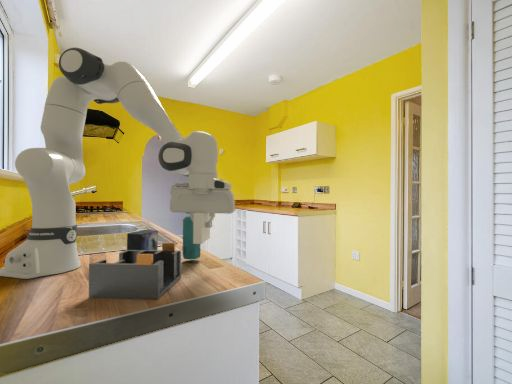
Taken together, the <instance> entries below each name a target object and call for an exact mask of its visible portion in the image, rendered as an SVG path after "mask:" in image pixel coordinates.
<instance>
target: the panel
mask: <svg viewBox="0 0 512 384" xmlns="http://www.w3.org/2000/svg"><path fill="white" fill-rule="evenodd" d="M210 218H211V217H209V213H201V212H197V213H194V226H193V244H201V245H203V244H204V243H206V241H208V240H210V239H211V228H206V222H208V221H209V220H210Z"/></svg>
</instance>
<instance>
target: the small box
mask: <svg viewBox="0 0 512 384" xmlns="http://www.w3.org/2000/svg"><path fill="white" fill-rule="evenodd" d="M158 231H159V230H156V229H154V230H153V229H142V230H136V231H132V232H128V233H126V237H127V238H126V250H158V237H159V235H158V234H159V232H158Z"/></svg>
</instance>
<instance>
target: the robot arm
mask: <svg viewBox="0 0 512 384" xmlns="http://www.w3.org/2000/svg"><path fill="white" fill-rule="evenodd" d="M58 68H59V70H60V73H62V75H63V76H58V77H56V78H55V79H54V80H53V81H52V84H51V85H50V87H49V90H48V93H47V95H46V99H45V103H44V106H43V107H44V108H43V113H42V118H41V122H40V132H41V134H42V135H43V139H44V144H45V147H31V148H30V147H29V148H26V149H23V150H22V151H21V152H19V154H17V156H16V157H15V160H14V161H15V162H14V167H15V170H16V172H17V173H18V174H19V175H20V176H21V177H22V179H23V180H24V183H25V184H26V187H27V190H28V193H29V197H30V200H31V208H32V209H31V214H32V215H31V216H32V219H31V220H32V221H31V222H32V224H31V225H32V226H31V228H30V229H26V230H24V233H23V235H27V236H26V238H25V239H26V240H24V241H23V242H22V243H20V244H18V246H16V247H15V248H14V249H12V250H10V251H9V252H8V253H7V254H6V256H5V260H4V267H1V268H0V277H6V278H15V279H24V280H28V279H29V280H30V279H34V278H38V277H44V276H50V275H58V274H62V273H66V272H70V271H73V270H76V269H79V268H80V267H82V263H81V260H80V256H79V252H78V246H77V236H78V225H77V224H76V223H77V222H76V221H77V219H76V215H77V214H76V213H77V211H76V207H77V205H76V200H75V199H74V197H73V195H72V193H71V189H70V186H71V185H73V184H76V183H78V182H80V181H81V180H83V179H84V177H85V175H86V167H85V164H84V156H83V155H84V153H83V136H84V130H85V124H86V119H87V113H88V107H89V105H90V103H91V102H94V103H95V104H98V105H102V104H117V103H120V105H121V106H122V107H123V108H124V110H125V111H126V112H127V113H128V114H129V115H130V116H131V117H132V118H133V119H134V120H135V121H138V122H139V123H141V124H142V125H144V126H146V127H147V128H149V129H151V130H152V131H153V132H155V133H156V134H157V135H158V136H159V137H160V138H161V139H162V141H163V142H164V144H163V145H162V146H161V148H160V149H159V151H158V162H159V164H160V166H161V168H163V169H164V170H165V171H167V172H171V173H174V174H178V175H182V176H184V177H187V178H188V183H186V182H184V183H180V182H179V183H178V182H177V183H175V184H173V185H171V188H170V195H171V196H170V201H169V210H170V212H171V213H182V214H183V213H185V214H189V216H190V218H191V220H192V221H193V226H194V213H197V212H201V213H209V217H210V220H209V221H208V222H206V228H210V229H211V228H212V222H213V221H214V220H215V217H216V214H228V215H229V214H233V213H234V212H235V211H236V201H235V195H234V192H232V183H230V182H228V181H225V180H223V179H219V178H218V169H217V164H218V161H219V159H218V158H219V157H218V156H219V153H218V143H217V139H216V137H215V136H213V135H212V134H210V133H208V132H205V131H200V130H194V131H192V132H190V134H188V135H187V136H185V137H183V136H182V134H181V133H180V131H179V130H178V129H177V127H176V125H175V124H173V122H172V121H171V119H170V117H169V115H168V114H167V112H166V110H165V109H164V107H163V106H162V103H161V101H160V100H159V98H158V96H157V95H156V94H155V93H156V92H154V90H153V88H152V87H151V85H150V83H149V82H148V81H147V80H146V79H145V76H143V75H142V73H141V72H140V71H139V70H138V69H137V68H136V67H135V66H134V65H132V64H131V63H130V62H126V61H117V62H114V63H113V64H106V63H105V62H104V61H103V59H102V58H101V57H99V56H97V55H95V54H93V53H91V52H89V51H87V50H85V49H83V48H79V47H70V48H68V49H66V50H64V51H63V52H62V53H61V55H59V59H58Z"/></svg>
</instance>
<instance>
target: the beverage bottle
mask: <svg viewBox="0 0 512 384" xmlns="http://www.w3.org/2000/svg"><path fill="white" fill-rule="evenodd" d="M201 245H202V244H193V221H192V220H191V218H190V215H188V216H185V217H183V218H182V247H181V249H182V250H181V254H182V258H183V259H184V260H196V259H197V260H198V259H199V258H201V257H200V256H201Z"/></svg>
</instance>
